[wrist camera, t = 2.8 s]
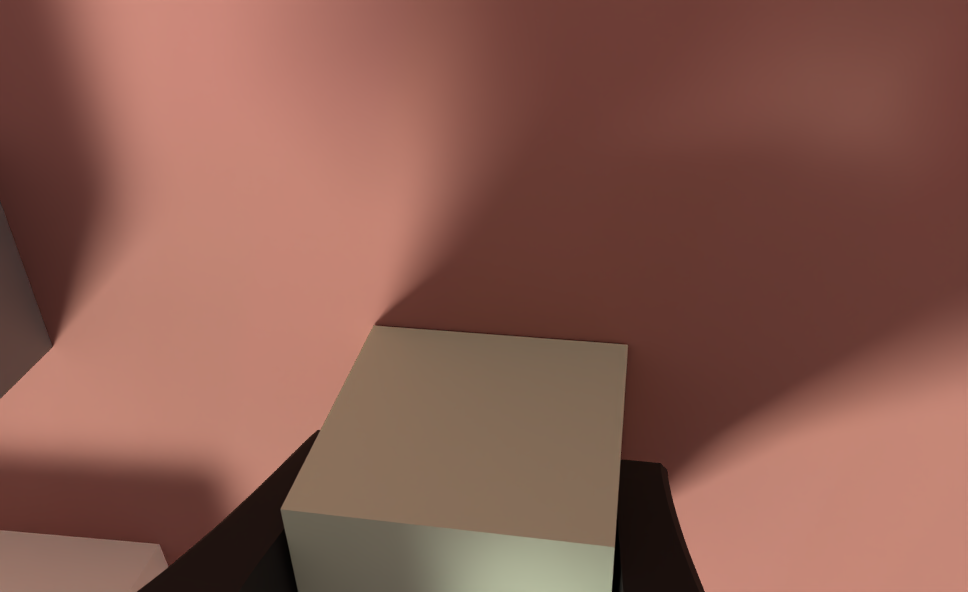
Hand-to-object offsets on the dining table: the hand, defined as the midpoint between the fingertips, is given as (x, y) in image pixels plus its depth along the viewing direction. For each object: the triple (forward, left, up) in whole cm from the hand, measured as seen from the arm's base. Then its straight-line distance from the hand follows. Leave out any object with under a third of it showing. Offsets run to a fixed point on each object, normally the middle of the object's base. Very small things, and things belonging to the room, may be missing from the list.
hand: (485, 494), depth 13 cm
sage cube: (0, 0, -1) cm, 1 cm away
